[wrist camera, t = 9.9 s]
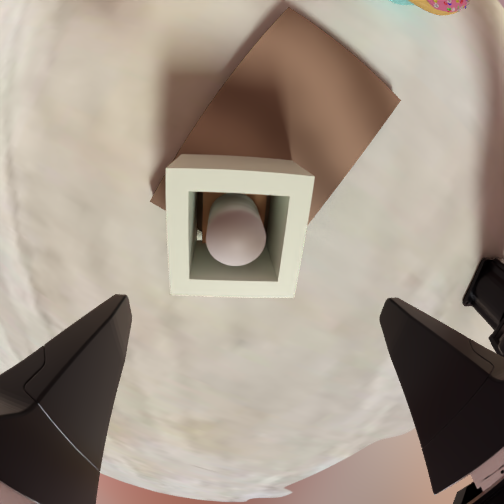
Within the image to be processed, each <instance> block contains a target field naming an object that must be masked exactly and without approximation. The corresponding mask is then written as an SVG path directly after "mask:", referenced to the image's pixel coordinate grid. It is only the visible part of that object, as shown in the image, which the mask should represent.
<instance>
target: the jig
mask: <svg viewBox="0 0 504 504" xmlns="http://www.w3.org/2000/svg"><path fill="white" fill-rule="evenodd" d="M400 101H401V100H400V99H399V98H398V97H397V96H396V95H395V94H394V93H393V92H392V91H391V90H390V89H389V88H388V87H387V86H386V85H385V84H384V83H383V82H382V81H381V80H380V79H379V78H378V77H377V76H376V75H375V74H374V73H373V72H372V71H371V70H370V69H369V68H368V67H367V66H366V65H364V64H363V63H362V62H361V61H360V60H359V59H358V58H357V57H355V56H354V55H353V54H352V53H351V52H350V51H348V50H347V49H346V48H345V47H343V46H342V45H341V44H340V43H339V42H337V41H336V40H335V39H333V38H332V37H331V36H330V35H328V34H327V33H326V32H324V31H323V30H322V29H320V28H319V27H317V26H316V25H315V24H313V23H312V22H310V21H309V20H307V19H306V18H305V17H303V16H302V15H300V14H299V13H297V12H295V11H294V10H292V9H291V8H289V7H288V8H287V9H286V11H285V12H284V13H283V14H282V15H281V16H280V17H279V18H278V19H277V20H276V21H275V22H274V23H273V25H272V26H271V27H270V28H269V29H268V30H267V31H266V33H265V34H264V35H263V36H262V37H261V38H260V39H259V41H258V42H257V43H256V44H255V45H254V47H253V48H252V49H251V50H250V51H249V53H248V54H247V55H246V56H245V58H244V59H243V60H242V61H241V63H240V64H239V65H238V66H237V68H236V69H235V70H234V72H233V73H232V74H231V76H230V77H229V78H228V79H227V81H226V82H225V84H224V85H223V86H222V88H221V89H220V90H219V92H218V93H217V94H216V96H215V97H214V99H213V100H212V101H211V103H210V104H209V106H208V107H207V109H206V110H205V112H204V113H203V115H202V116H201V117H200V119H199V120H198V122H197V123H196V125H195V126H194V128H193V130H192V131H191V133H190V134H189V136H188V137H187V139H186V140H185V142H184V144H183V145H182V147H181V148H180V150H179V152H178V153H177V155H176V157H175V158H174V160H175V159H176V158H178V157H179V156H180V155H181V154H201V155H228V156H246V157H260V158H272V159H283V160H292V161H294V162H295V163H296V164H298V165H299V166H301V167H302V168H304V169H305V170H306V171H308V172H309V173H311V174H312V175H313V176H315V179H314V186H313V193H312V199H311V206H310V212H309V218H308V224H309V223H310V221H311V220H312V219H313V218H314V216H315V215H316V214H317V212H318V211H319V210H320V209H321V207H322V206H323V205H324V203H325V202H326V201H327V199H328V198H329V197H330V196H331V194H332V193H333V192H334V190H335V189H336V188H337V186H338V185H339V184H340V182H341V181H342V180H343V178H344V177H345V176H346V174H347V173H348V172H349V170H350V169H351V168H352V166H353V165H354V164H355V162H356V161H357V160H358V158H359V157H360V156H361V154H362V153H363V152H364V150H365V149H366V148H367V146H368V145H369V144H370V142H371V141H372V139H373V138H374V137H375V135H376V134H377V133H378V131H379V130H380V129H381V127H382V126H383V124H384V123H385V122H386V120H387V119H388V117H389V116H390V115H391V113H392V112H393V111H394V109H395V108H396V106H397V105H398V104H399V102H400ZM174 160H173V161H174ZM270 201H271V195H262V194H244V193H223V192H197V229H199V230H201V231H202V243H206V244H207V248H208V250H209V252H210V254H211V255H212V256H213V257H214V258H215V259H216V260H217V261H219V262H221V263H223V264H226V265H230V266H241V265H245V264H248V263H250V262H252V261H254V260H255V259H256V258H257V257H258V256H259V255H260V254H261V253H262V251H263V249H264V247H265V243H266V237H267V228H268V219H269V210H270ZM150 202H152V203H154V204H155V205H157V206H159V207H161V208H162V209H164V210H166V174H165V175H164V177H163V179H162V181H161V182H160V184H159V186H158V188H157V189H156V191H155V193H154V195H153V197H152V199H151V200H150ZM308 224H307V225H308Z"/></svg>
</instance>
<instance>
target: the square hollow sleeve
mask: <svg viewBox="0 0 504 504" xmlns="http://www.w3.org/2000/svg"><path fill="white" fill-rule="evenodd" d="M314 179H315V176H313V175H312V174H311V173H309V172H308V171H306V170H305V169H304V168H302V167H301V166H299V165H298V164H296V163H295V162H294V161H292V160H283V159H272V158H260V157H246V156H228V155H201V154H181V155H180V156H179V157H178V158H176V159H175V160H174V161H173V162H172V163H171V164H170V165H169V166H168V167H166V229H167V251H168V267H169V281H170V293H171V295H180V296H205V297H242V298H294V295H295V290H296V285H297V280H298V275H299V269H300V264H301V259H302V253H303V248H304V242H305V236H306V230H307V224H308V218H309V212H310V206H311V199H312V193H313V186H314ZM197 192H223V193H244V194H262V195H271V201H270V210H269V219H268V228H267V237H266V243H265V247H264V249H263V251H262V253H261V254H260V255H259V256H258V257H257V258H256V259H255V260H254V261H252V262H250V263H248V264H245V265H241V266H230V265H226V264H223V263H221V262H219V261H217V260H216V259H215V258H214V257H213V256H212V255H211V254H210V252H209V250H208V248H207V244H206V243H202V240H197Z"/></svg>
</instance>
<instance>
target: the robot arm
mask: <svg viewBox="0 0 504 504" xmlns="http://www.w3.org/2000/svg"><path fill="white" fill-rule="evenodd" d="M463 305H464V306H473V307H474V308H475V310H476V311H477V312H478V313H479V314H480V315H481V316H482V317H483V318H484V319H485V320H486V321H487V323H488V324H489V325H490V326H491V327H492V328H493V329H494V330H495V331H494V332H493V333H492V334H491V335H490V337H489V340H490V342H491V345H492V346H493V348H494V350H495V351H496V353H497V354H496V353H494V352H493V351H491V350H489V349H487V348H485V347H483V346H482V345H480V344H478V343H476V342H475V341H473V340H471V339H469V338H467V337H466V336H464V335H463V334H461V333H459V332H457V331H456V330H454V329H452V328H450V327H449V326H447V325H445V324H443V323H442V322H440V321H438V320H436V319H435V318H433V317H431V316H429V315H428V314H426V313H424V312H422V311H420V310H419V309H417V308H415V307H413V306H412V305H410V304H408V303H406V302H404V301H403V300H401V299H399V298H388V299H387V300H386V302H385V304H384V307H383V309H382V312H381V314H380V324H381V327H382V331H383V334H384V337H385V341H386V344H387V348H388V351H389V354H390V357H391V360H392V362H393V365H394V368H395V370H396V373H397V375H398V378H399V381H400V383H401V386H402V389H403V392H404V395H405V397H406V400H407V403H408V406H409V409H410V412H411V415H412V418H413V421H414V424H415V427H416V430H417V434H418V437H419V440H420V444H421V447H422V451H423V454H424V458H425V461H426V465H427V469H428V473H429V477H430V481H431V485H432V489H433V493H434V495H436V494H437V493H439V492H441V491H443V490H445V489H447V488H448V487H450V486H452V485H454V484H455V483H457V482H458V481H460V480H462V479H463V478H465V477H466V476H468V475H470V474H471V476H472V479H473V482H472V483H471V484H469V485H468V486H466V487H464V488H463V489H462V490H460V491H458V492H457V494H456V497H455V500H454V502H453V504H504V259H502V258H494V259H490V258H484V259H483V260H482V261H481V264H480V266H479V269H478V271H477V273H476V275H475V278H474V280H473V282H472V284H471V286H470V288H469V291H468V293H467V295H466V297H465V299H464V301H463ZM131 323H132V314H131V309H130V304H129V299H128V297H127V296H126V295H120V294H115V295H114V296H112V297H111V298H109V299H108V300H106V301H105V302H103V303H102V304H100V305H99V306H98V307H96V308H95V309H93V310H92V311H90V312H89V313H88V314H86V315H85V316H83V317H82V318H81V319H79V320H78V321H76V322H75V323H74V324H72V325H71V326H69V327H68V328H67V329H65V330H64V331H62V332H61V333H60V334H58V335H57V336H56V337H54V338H53V339H51V340H50V341H49V342H47V343H46V344H45V345H44V346H42V347H41V348H39V349H38V350H37V351H35V352H34V353H32V354H31V355H30V356H28V357H27V358H25V359H24V360H23V361H21V362H19V363H18V364H16V365H15V366H13V367H12V368H10V369H9V370H7V371H5V372H4V373H2V374H1V375H0V504H96V496H97V489H98V482H99V475H100V472H99V471H100V468H101V462H102V457H103V451H104V446H105V441H106V436H107V431H108V426H109V422H110V417H111V413H112V409H113V404H114V400H115V396H116V392H117V388H118V384H119V381H120V377H121V373H122V370H123V366H124V362H125V357H126V351H127V345H128V339H129V334H130V328H131Z"/></svg>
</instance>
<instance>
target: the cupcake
mask: <svg viewBox="0 0 504 504" xmlns="http://www.w3.org/2000/svg"><path fill="white" fill-rule="evenodd" d="M390 1H392V2H394V3H397V4H401V5H417V6H418V7H420V8H422V9H424V10H426V11H428V12H430V13H433V14H436V15H450V14H454V13H456V12H458V11H460V10H462V9H463V8H464V7H465V9H466V5H468V4H469V1H470V0H469V1H468V0H390Z"/></svg>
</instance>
